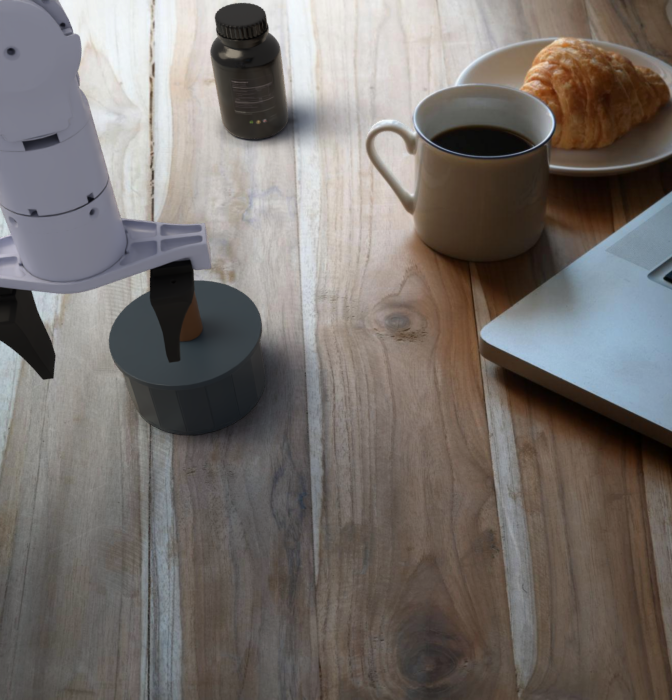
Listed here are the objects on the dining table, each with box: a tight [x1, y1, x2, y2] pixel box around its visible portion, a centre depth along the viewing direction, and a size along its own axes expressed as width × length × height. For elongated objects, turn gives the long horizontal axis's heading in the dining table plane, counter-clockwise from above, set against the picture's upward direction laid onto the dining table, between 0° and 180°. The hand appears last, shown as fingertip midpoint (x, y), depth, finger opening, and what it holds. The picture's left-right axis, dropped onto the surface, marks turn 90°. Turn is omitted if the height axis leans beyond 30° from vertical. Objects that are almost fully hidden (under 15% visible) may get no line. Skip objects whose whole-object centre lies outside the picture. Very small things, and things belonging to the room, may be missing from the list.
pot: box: [122, 342, 266, 436], centre depth 70 cm, size 10×10×5 cm
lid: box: [108, 279, 263, 390], centre depth 66 cm, size 11×11×5 cm
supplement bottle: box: [209, 2, 289, 140], centre depth 92 cm, size 7×7×12 cm
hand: (112, 359), depth 59 cm, fingers open, 7 cm apart
